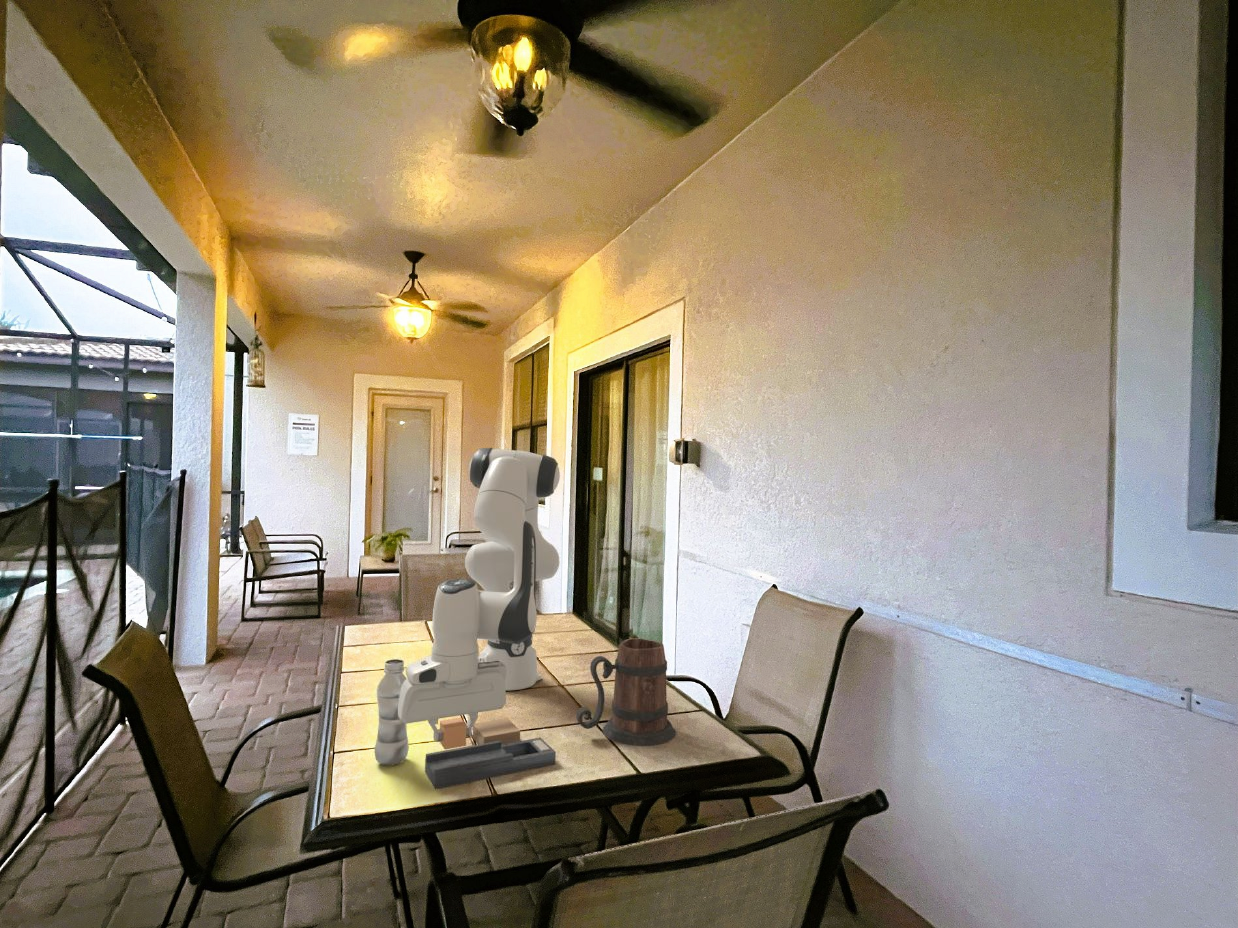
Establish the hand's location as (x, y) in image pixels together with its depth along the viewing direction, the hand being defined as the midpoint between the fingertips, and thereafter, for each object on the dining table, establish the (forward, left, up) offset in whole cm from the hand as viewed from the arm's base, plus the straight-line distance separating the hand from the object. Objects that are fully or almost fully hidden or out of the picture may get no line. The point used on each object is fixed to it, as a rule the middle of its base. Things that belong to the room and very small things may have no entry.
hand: (452, 737), depth 126 cm
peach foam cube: (0, 0, -1) cm, 1 cm away
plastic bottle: (-11, -9, -8) cm, 16 cm away
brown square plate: (-12, +13, -7) cm, 19 cm away
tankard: (-4, +41, -8) cm, 42 cm away
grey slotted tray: (0, +8, -7) cm, 11 cm away
